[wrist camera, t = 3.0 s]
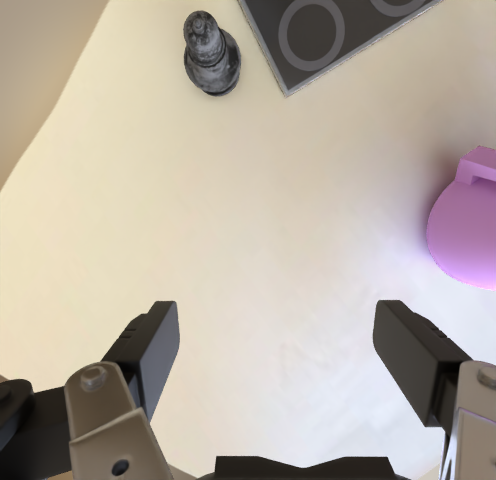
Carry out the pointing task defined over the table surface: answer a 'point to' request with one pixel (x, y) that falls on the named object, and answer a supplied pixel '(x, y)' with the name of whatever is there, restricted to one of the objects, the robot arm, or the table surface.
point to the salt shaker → (210, 55)
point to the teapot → (467, 222)
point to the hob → (322, 32)
